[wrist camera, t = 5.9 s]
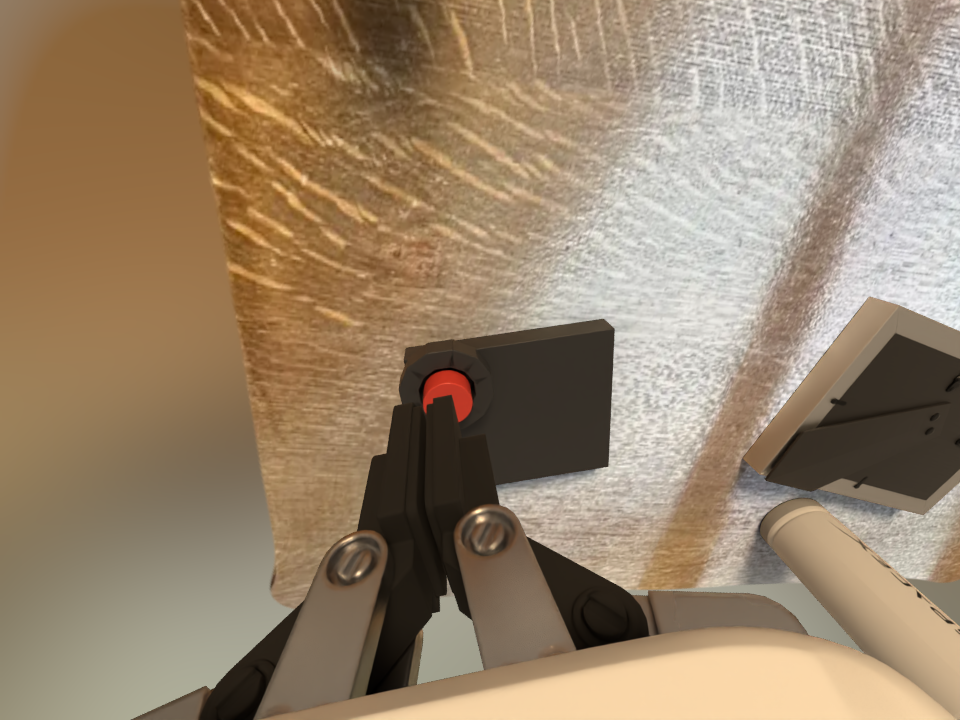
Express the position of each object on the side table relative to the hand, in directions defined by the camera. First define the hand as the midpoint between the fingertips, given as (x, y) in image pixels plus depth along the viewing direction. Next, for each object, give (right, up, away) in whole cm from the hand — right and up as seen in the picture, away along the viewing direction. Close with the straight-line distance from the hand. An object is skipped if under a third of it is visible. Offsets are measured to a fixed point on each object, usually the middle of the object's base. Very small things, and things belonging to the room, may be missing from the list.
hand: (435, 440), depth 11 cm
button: (-1, 0, +14) cm, 14 cm away
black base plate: (+4, -1, +18) cm, 19 cm away
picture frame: (+37, -2, +23) cm, 44 cm away
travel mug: (+33, -14, +28) cm, 45 cm away
